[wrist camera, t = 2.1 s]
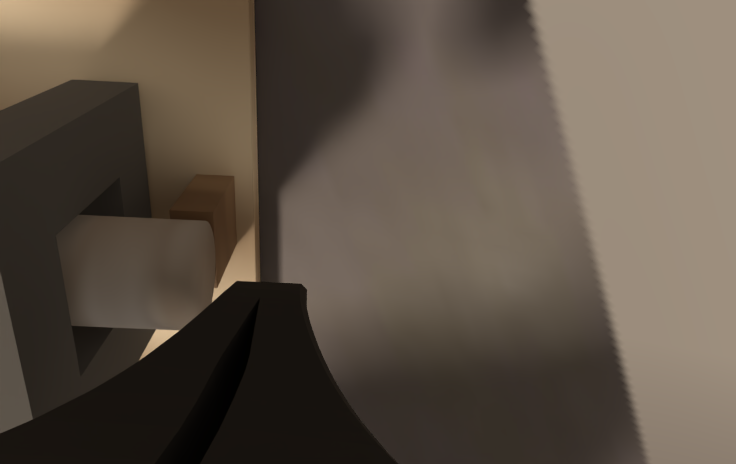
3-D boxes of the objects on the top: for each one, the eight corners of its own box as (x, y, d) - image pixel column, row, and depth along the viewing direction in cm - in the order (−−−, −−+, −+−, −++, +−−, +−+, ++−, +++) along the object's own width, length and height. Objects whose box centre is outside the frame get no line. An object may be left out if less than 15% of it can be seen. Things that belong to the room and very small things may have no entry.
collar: (162, 318, 18) (53, 513, 12) (106, 316, 18) (-33, 510, 12) (138, 83, 15) (-21, 174, 9) (71, 79, 15) (-135, 169, 9)
